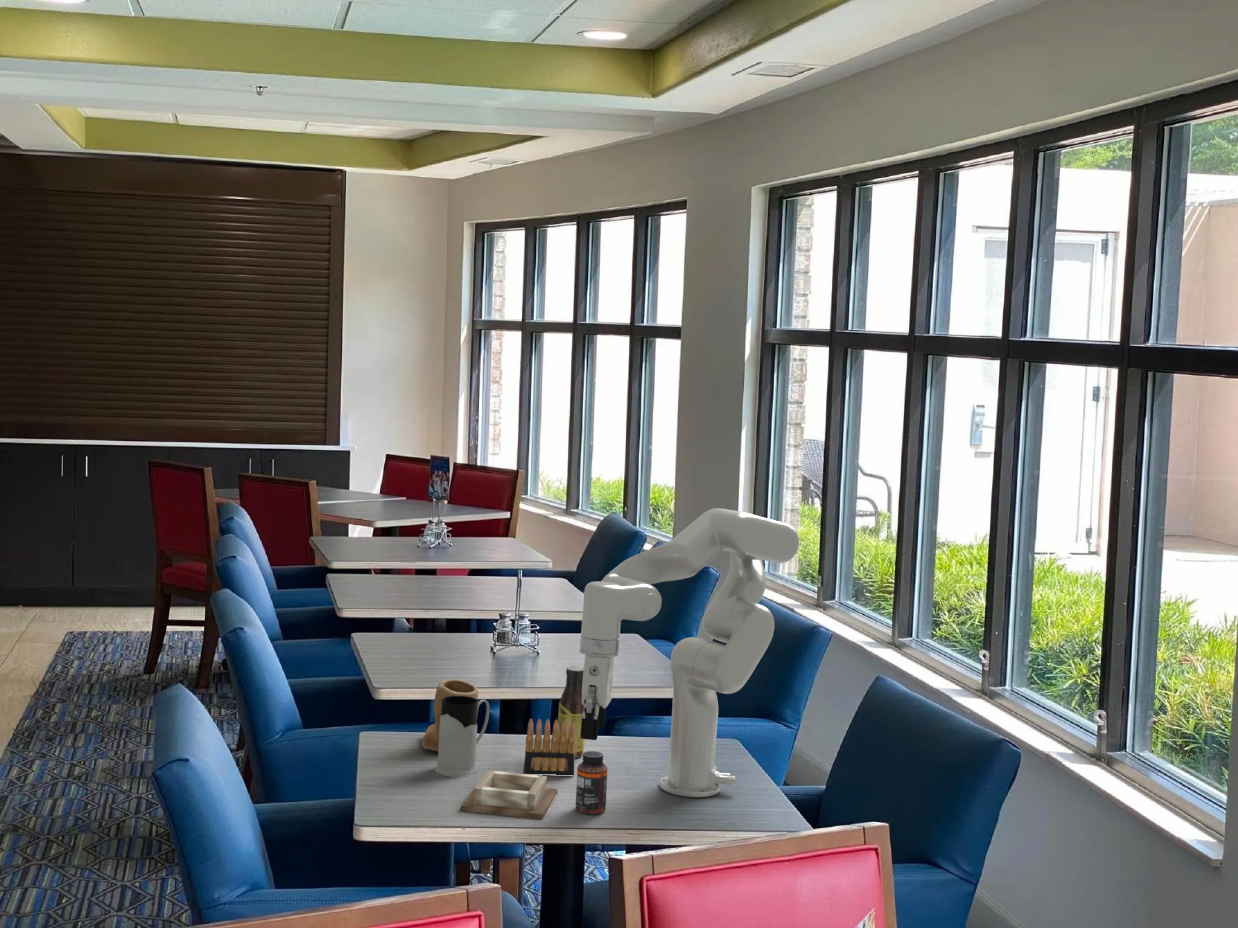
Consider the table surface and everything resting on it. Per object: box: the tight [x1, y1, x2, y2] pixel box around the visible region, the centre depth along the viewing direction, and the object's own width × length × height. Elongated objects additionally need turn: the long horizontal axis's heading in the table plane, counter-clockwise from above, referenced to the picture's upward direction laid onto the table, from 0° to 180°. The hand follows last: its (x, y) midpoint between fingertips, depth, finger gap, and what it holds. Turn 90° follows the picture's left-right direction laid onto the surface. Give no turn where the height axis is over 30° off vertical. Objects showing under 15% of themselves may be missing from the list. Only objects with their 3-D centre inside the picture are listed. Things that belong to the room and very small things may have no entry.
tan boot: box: [421, 678, 479, 752], centre depth 299 cm, size 15×12×15 cm
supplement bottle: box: [575, 750, 608, 815], centre depth 261 cm, size 6×6×11 cm
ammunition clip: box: [523, 718, 575, 776], centre depth 283 cm, size 11×2×12 cm, turn 94°
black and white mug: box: [435, 696, 491, 778], centre depth 284 cm, size 9×14×15 cm, turn 146°
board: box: [460, 770, 558, 820], centre depth 264 cm, size 16×16×4 cm
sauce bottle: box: [557, 665, 586, 759], centre depth 297 cm, size 7×6×20 cm
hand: (592, 732), depth 260 cm, fingers open, 9 cm apart
